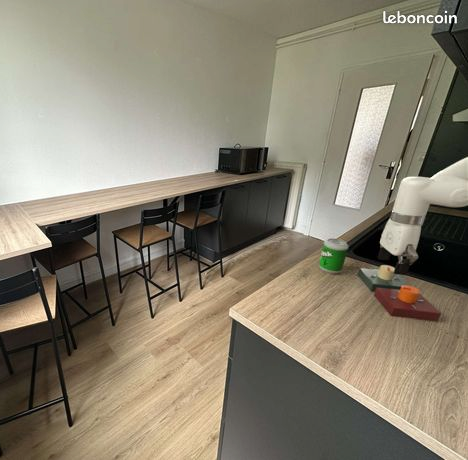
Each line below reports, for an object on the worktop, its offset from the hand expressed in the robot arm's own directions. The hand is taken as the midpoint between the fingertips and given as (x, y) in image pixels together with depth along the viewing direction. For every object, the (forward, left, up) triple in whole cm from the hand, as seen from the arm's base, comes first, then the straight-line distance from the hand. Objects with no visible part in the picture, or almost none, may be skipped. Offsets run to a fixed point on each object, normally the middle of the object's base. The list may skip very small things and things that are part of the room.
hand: (391, 266), depth 83 cm
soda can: (+15, -7, -8) cm, 18 cm away
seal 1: (+1, 0, -4) cm, 4 cm away
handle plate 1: (+1, 0, -7) cm, 7 cm away
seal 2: (+1, +12, -4) cm, 13 cm away
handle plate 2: (+1, +12, -7) cm, 14 cm away
